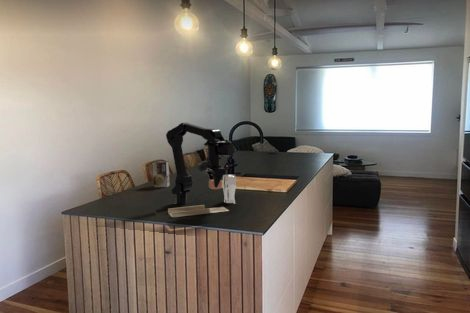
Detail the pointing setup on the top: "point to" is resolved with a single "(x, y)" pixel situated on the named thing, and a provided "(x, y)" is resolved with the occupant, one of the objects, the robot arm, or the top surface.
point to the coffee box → (161, 173)
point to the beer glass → (229, 188)
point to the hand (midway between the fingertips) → (214, 186)
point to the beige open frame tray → (193, 210)
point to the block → (211, 185)
